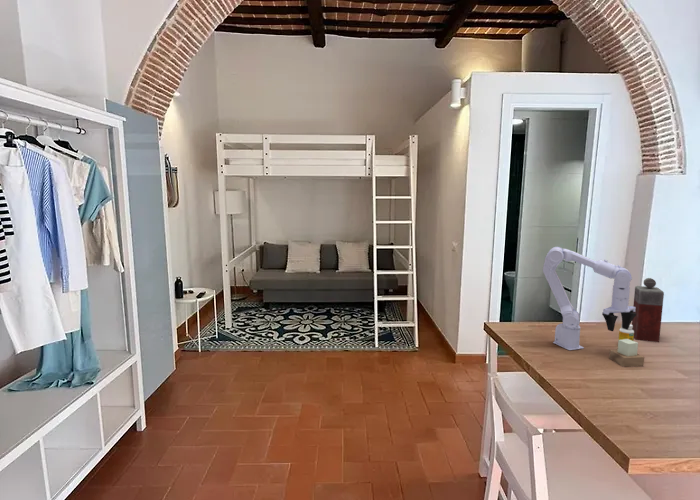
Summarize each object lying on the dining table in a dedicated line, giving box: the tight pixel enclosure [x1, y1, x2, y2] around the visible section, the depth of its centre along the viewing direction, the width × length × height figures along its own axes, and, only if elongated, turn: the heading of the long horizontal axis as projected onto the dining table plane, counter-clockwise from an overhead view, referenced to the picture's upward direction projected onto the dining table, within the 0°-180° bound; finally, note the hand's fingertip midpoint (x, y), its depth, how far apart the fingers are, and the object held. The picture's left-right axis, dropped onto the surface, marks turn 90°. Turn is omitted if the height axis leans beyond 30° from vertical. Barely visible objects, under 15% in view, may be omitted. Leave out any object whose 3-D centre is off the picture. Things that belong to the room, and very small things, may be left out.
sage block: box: [617, 339, 639, 356], centre depth 156 cm, size 4×4×5 cm
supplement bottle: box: [618, 323, 635, 341], centre depth 174 cm, size 5×5×10 cm
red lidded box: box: [631, 277, 665, 343], centre depth 183 cm, size 9×11×28 cm
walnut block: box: [608, 349, 645, 368], centre depth 157 cm, size 8×8×4 cm
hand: (617, 329), depth 164 cm, fingers open, 7 cm apart
